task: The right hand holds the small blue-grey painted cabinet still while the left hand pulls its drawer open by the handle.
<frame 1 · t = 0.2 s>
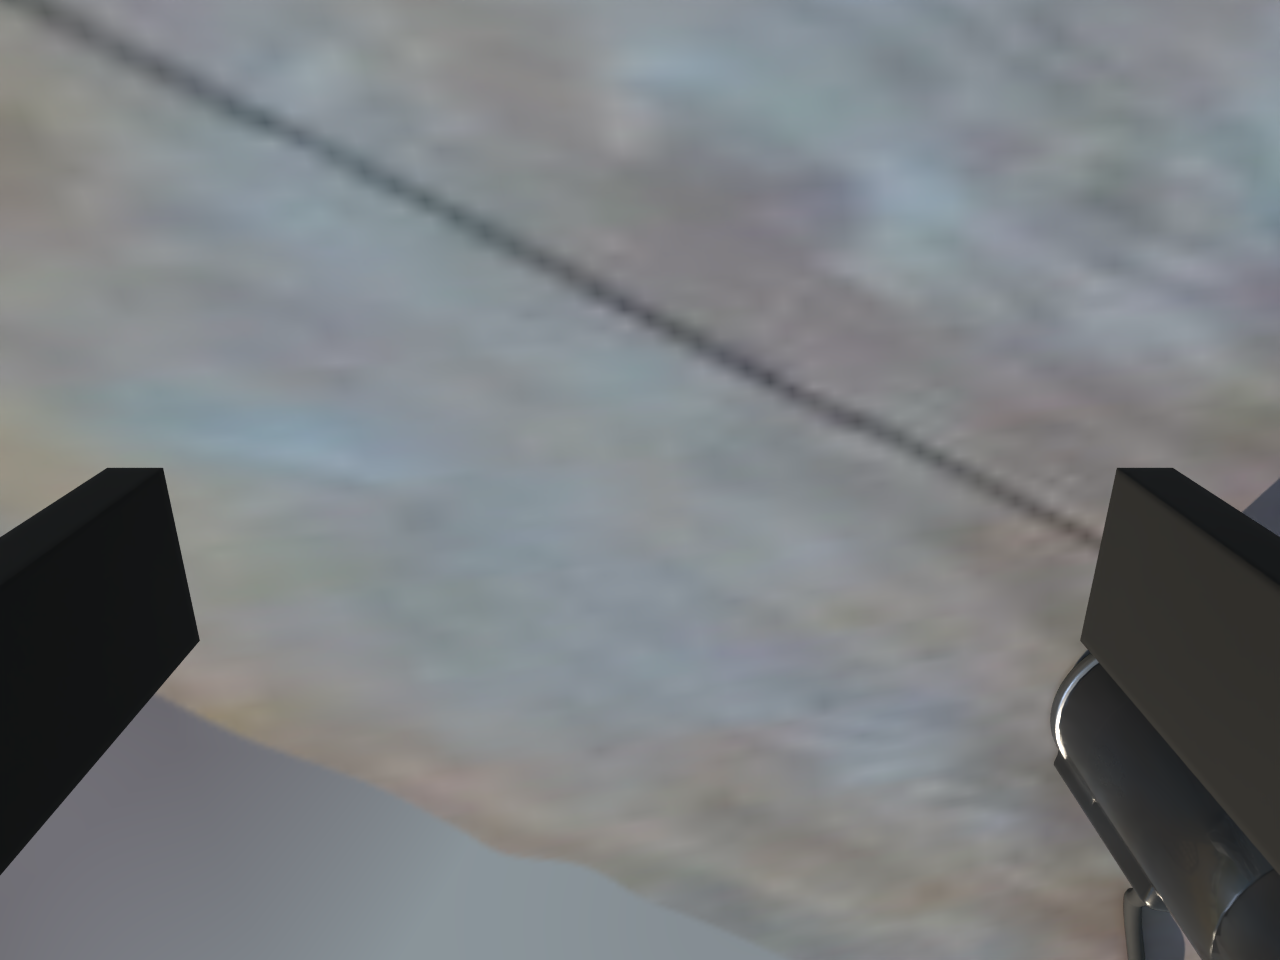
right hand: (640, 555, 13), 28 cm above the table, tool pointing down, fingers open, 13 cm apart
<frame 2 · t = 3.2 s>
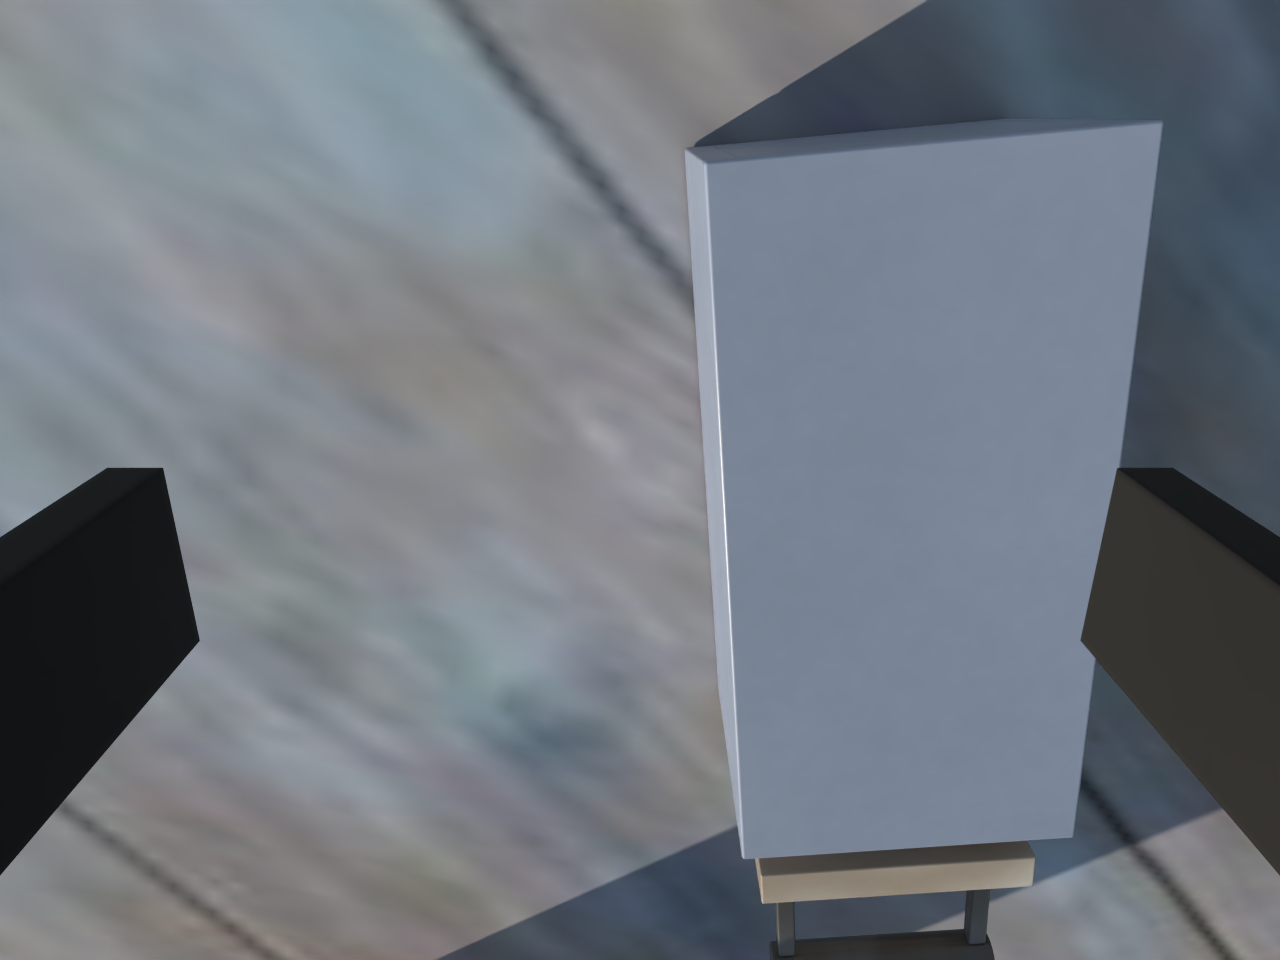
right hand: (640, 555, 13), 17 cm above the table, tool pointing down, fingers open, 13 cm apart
drawer: (873, 668, 29), point 4 cm above the table, slide at 1.6 cm
cabinet: (845, 439, 30), on the table
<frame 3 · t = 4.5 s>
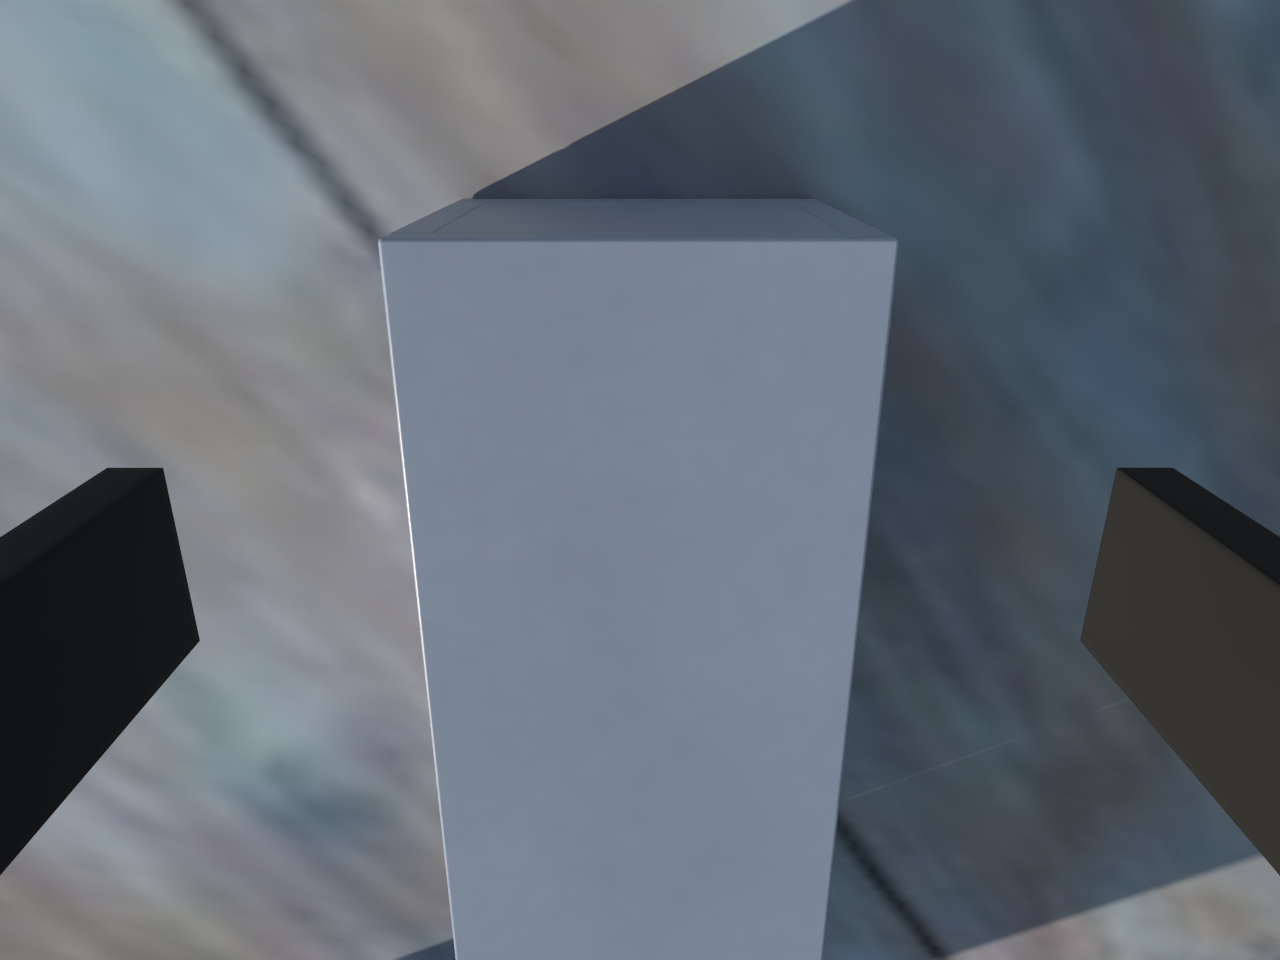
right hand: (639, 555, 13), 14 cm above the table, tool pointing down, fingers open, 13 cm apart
cabinet: (638, 522, 28), on the table
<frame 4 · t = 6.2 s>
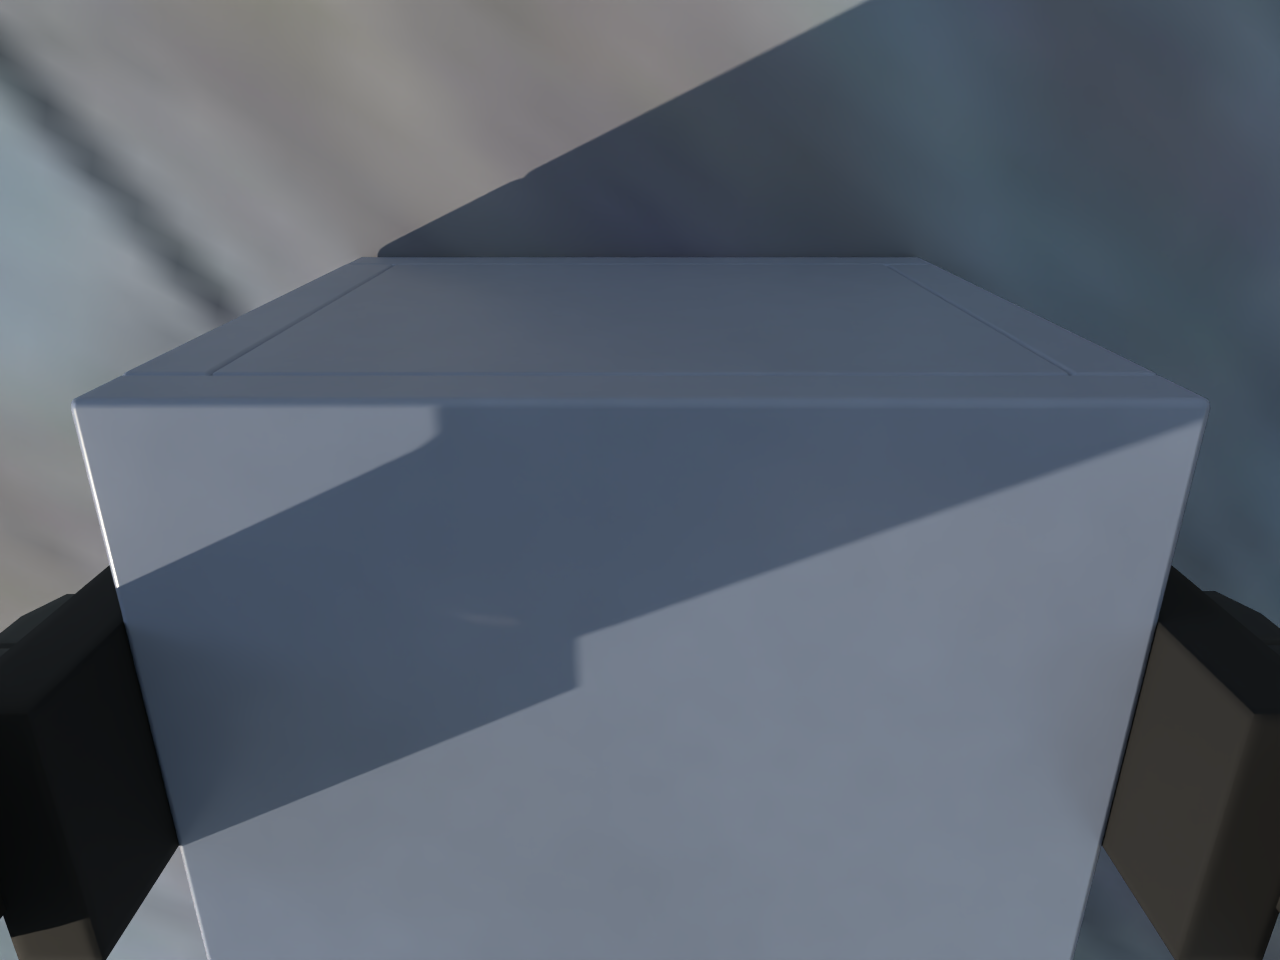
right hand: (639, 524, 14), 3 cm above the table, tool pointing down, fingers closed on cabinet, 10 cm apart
cabinet: (639, 724, 19), on the table, touching right hand
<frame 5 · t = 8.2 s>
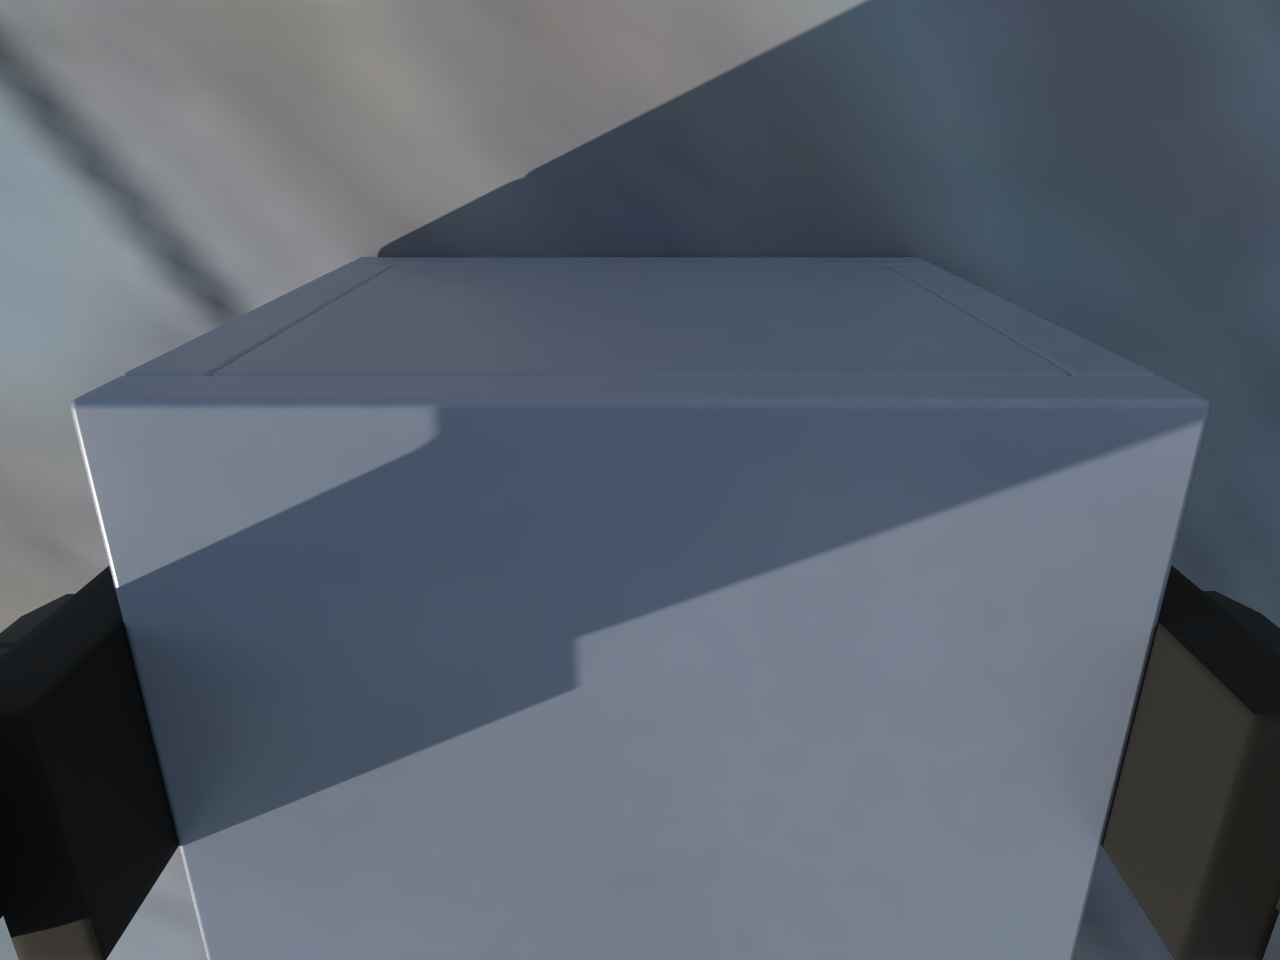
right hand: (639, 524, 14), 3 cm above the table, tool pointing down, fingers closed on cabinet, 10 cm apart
cabinet: (640, 724, 19), on the table, touching right hand
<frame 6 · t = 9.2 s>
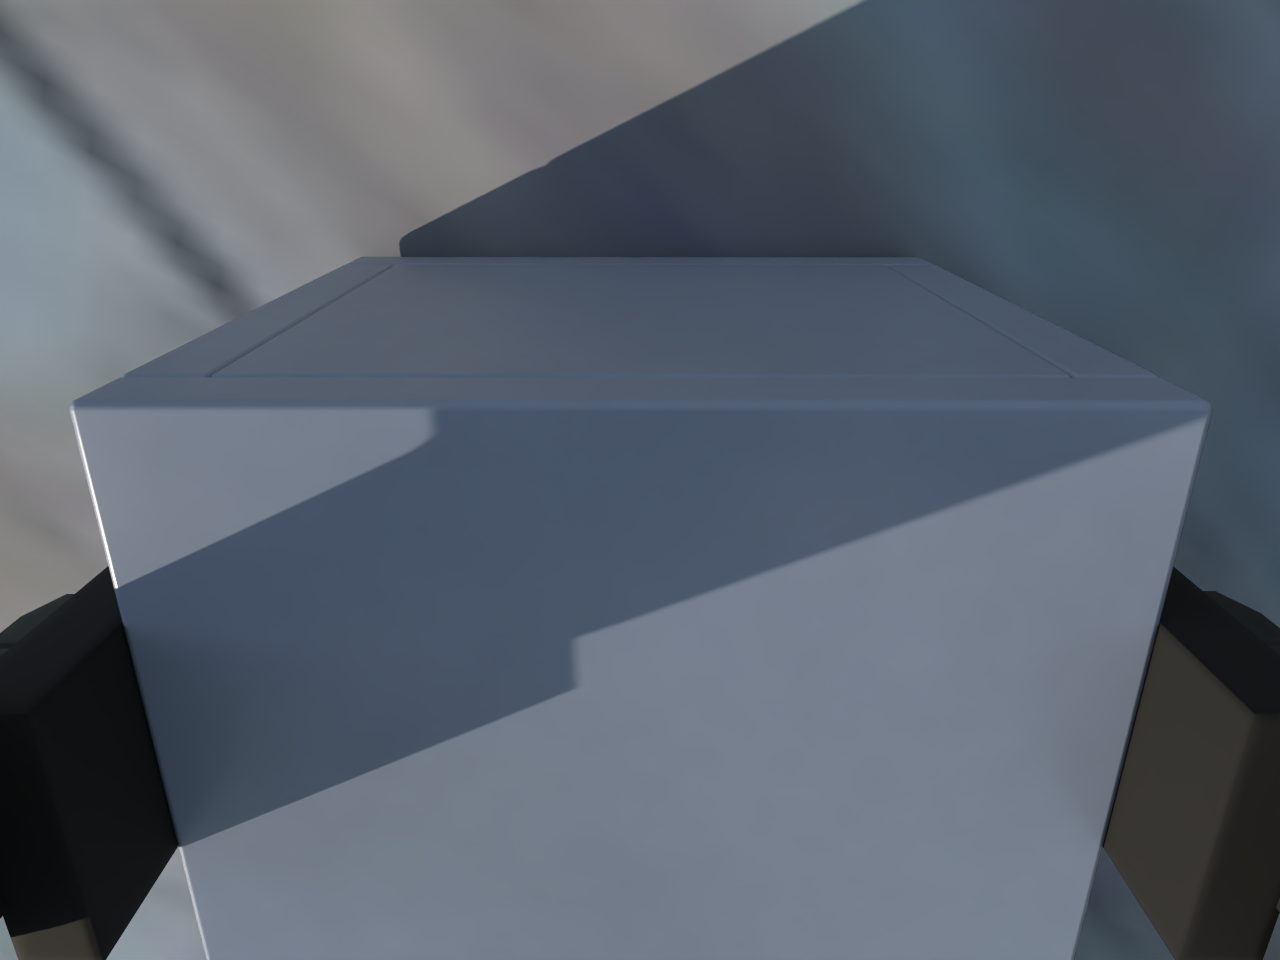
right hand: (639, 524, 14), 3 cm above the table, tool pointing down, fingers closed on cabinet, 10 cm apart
cabinet: (640, 724, 19), on the table, touching right hand
when the right hand's fingers open (3 cm above the table, at t = 10.7 s): cabinet stays where it is, on the table.
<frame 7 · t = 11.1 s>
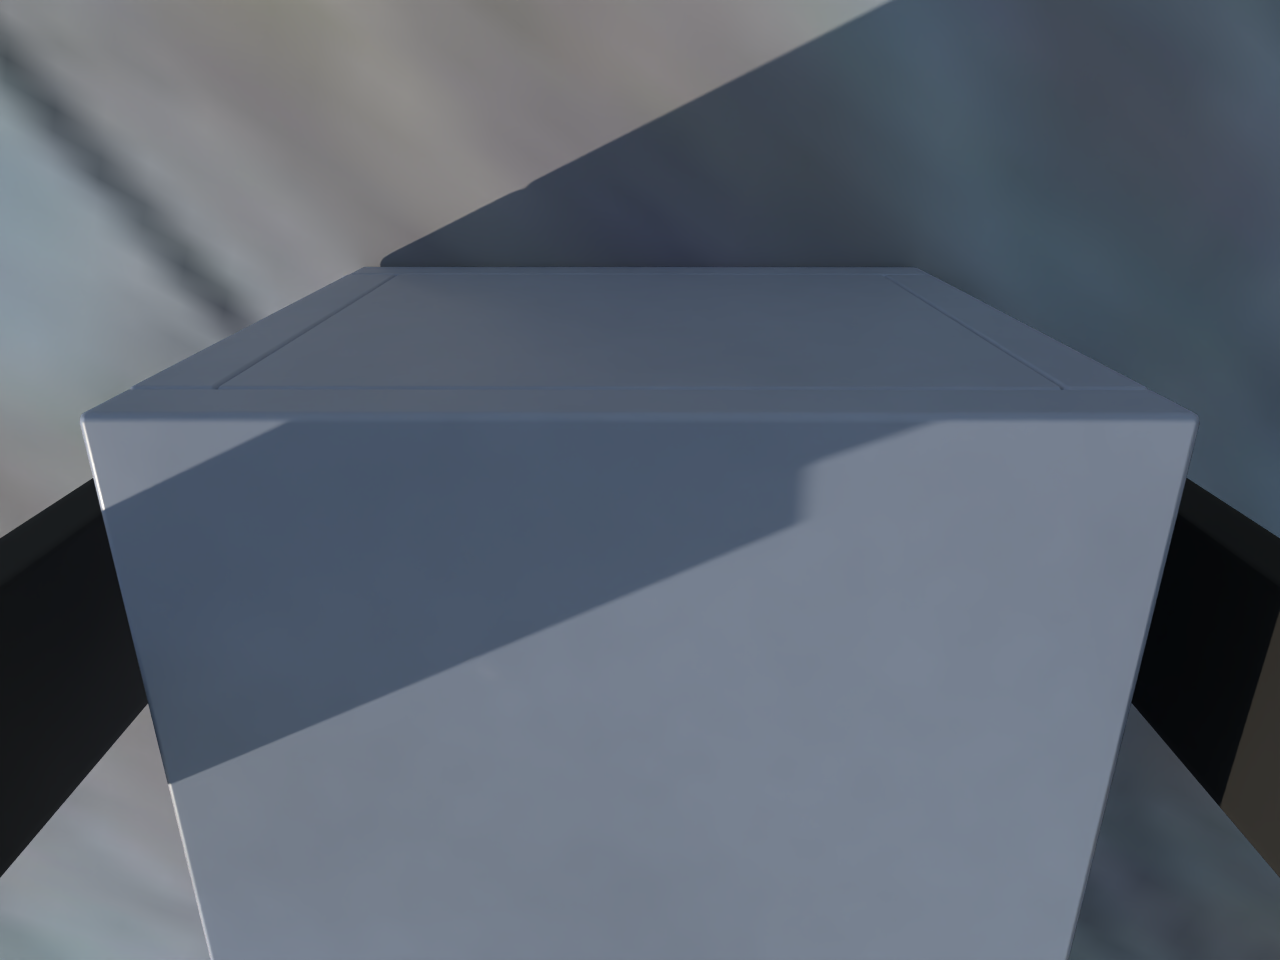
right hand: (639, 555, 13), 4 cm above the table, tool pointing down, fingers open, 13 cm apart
cabinet: (639, 729, 19), on the table
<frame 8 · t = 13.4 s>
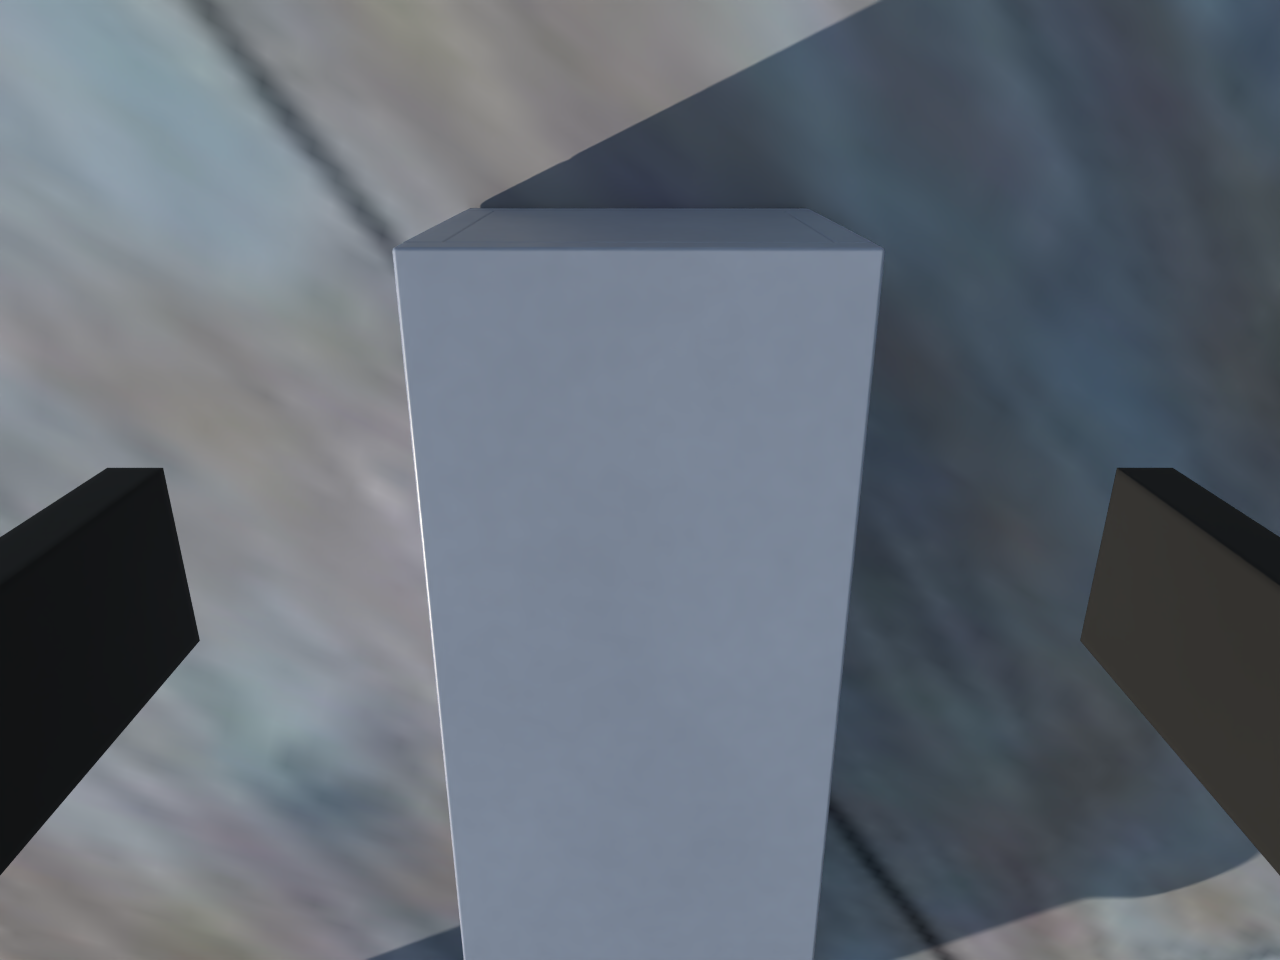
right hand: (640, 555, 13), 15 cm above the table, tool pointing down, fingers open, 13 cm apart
cabinet: (639, 520, 29), on the table
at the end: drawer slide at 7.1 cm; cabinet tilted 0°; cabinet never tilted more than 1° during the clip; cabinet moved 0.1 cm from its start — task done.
